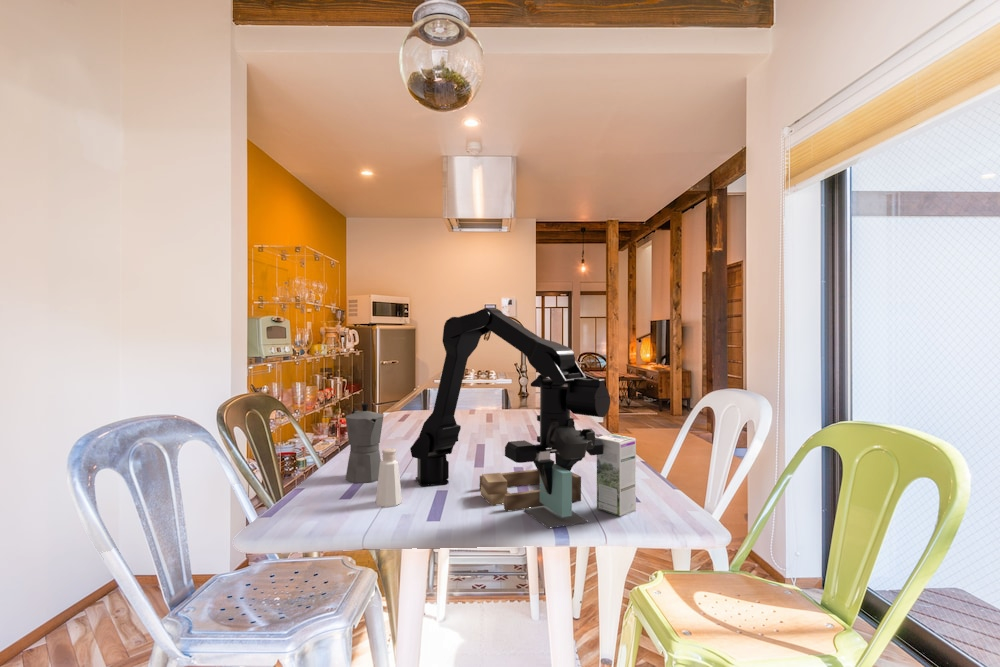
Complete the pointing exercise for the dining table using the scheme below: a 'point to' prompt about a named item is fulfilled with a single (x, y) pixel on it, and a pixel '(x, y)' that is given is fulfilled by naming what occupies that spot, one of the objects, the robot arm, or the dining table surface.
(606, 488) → the syrup box
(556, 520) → the mat
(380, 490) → the pepper shaker
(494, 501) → the offcut lower
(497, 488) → the offcut upper
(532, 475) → the rack
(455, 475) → the dining table surface
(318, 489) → the dining table surface
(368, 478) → the coffeepot
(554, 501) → the teal rectangular block
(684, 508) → the dining table surface
